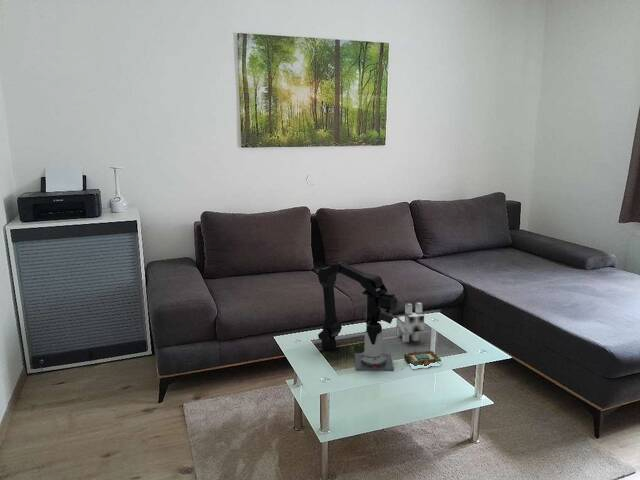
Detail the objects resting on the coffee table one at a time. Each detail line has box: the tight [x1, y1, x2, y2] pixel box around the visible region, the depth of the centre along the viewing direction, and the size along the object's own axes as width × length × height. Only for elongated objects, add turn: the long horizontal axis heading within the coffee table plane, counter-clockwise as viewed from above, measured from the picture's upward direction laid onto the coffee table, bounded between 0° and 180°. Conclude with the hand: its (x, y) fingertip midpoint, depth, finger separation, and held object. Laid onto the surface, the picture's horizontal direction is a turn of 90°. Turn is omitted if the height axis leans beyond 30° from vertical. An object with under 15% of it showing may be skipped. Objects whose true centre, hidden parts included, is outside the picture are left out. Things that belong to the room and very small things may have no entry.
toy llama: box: [396, 301, 425, 344], centre depth 234 cm, size 8×18×20 cm, turn 13°
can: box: [363, 329, 383, 358], centre depth 210 cm, size 8×8×12 cm
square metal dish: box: [354, 350, 395, 372], centre depth 211 cm, size 16×15×4 cm
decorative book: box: [403, 349, 442, 366], centre depth 209 cm, size 13×18×5 cm
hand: (372, 340), depth 210 cm, fingers open, 9 cm apart
